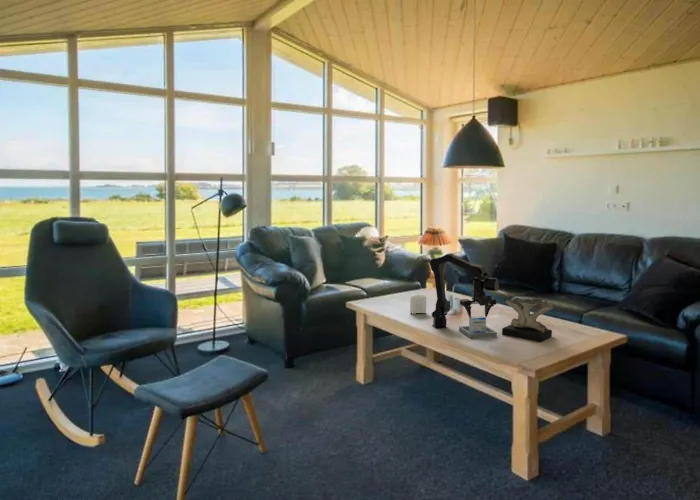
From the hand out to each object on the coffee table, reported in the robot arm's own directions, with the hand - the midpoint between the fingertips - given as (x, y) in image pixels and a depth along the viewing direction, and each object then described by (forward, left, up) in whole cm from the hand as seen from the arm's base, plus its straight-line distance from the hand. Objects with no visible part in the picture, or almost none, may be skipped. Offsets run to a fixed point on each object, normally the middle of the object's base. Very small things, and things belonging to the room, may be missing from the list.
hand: (478, 317), depth 277 cm
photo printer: (-17, +50, -9) cm, 53 cm away
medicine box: (0, 0, -9) cm, 9 cm away
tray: (0, 0, -9) cm, 9 cm away
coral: (+22, -12, -9) cm, 27 cm away
